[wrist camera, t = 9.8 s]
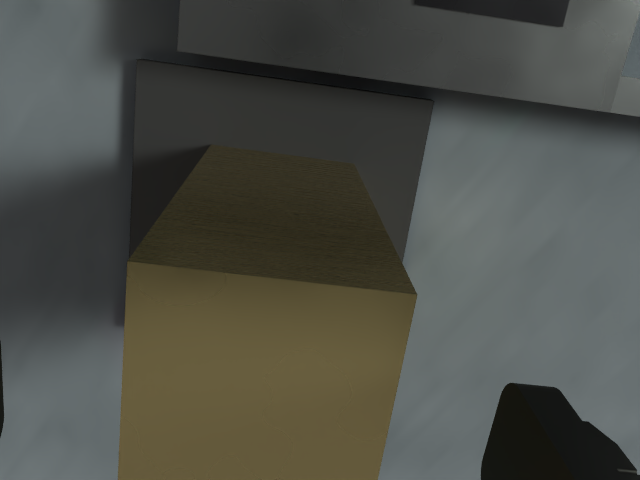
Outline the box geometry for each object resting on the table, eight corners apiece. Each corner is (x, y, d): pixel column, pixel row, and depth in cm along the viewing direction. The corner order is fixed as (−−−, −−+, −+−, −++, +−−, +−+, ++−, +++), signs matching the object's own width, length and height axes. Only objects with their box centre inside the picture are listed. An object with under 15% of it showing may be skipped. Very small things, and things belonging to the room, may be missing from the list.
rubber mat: (141, 58, 18) (136, 59, 18) (430, 99, 19) (434, 101, 18) (130, 324, 21) (126, 331, 20) (381, 349, 22) (383, 357, 21)
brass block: (211, 144, 18) (126, 261, 9) (354, 163, 19) (416, 295, 9) (199, 277, 20) (116, 499, 10) (332, 292, 20) (368, 519, 11)
